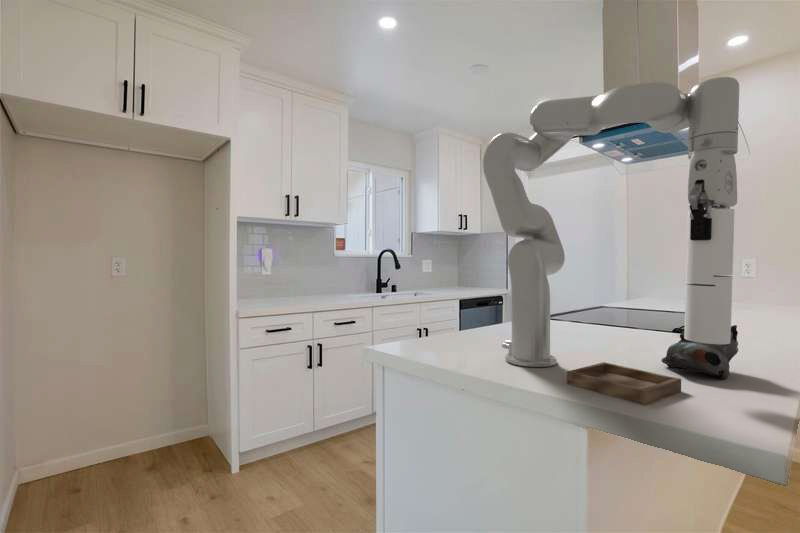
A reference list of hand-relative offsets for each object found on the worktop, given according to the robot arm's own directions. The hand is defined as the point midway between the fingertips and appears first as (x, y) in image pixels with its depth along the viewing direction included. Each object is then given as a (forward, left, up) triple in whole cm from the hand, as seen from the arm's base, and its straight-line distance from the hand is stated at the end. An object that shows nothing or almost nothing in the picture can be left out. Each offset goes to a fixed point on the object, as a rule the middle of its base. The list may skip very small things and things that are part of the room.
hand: (709, 240), depth 78 cm
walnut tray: (-12, -8, -30) cm, 33 cm away
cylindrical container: (0, 0, -20) cm, 20 cm away
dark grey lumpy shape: (-8, +17, -30) cm, 36 cm away
